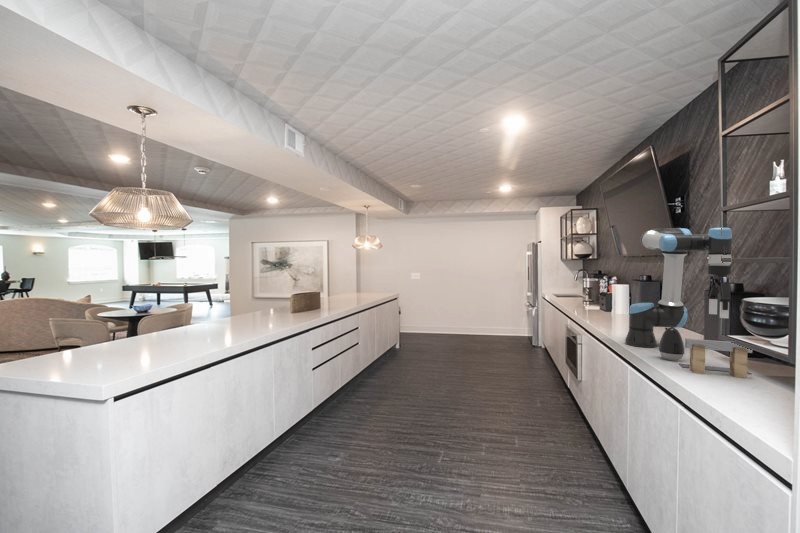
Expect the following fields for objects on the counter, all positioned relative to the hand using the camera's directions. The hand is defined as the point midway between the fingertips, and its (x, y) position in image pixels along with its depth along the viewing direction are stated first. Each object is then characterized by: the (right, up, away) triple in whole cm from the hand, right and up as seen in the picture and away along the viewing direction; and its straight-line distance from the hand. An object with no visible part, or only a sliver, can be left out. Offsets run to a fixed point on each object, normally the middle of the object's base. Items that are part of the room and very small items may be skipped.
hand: (718, 316), depth 168 cm
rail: (0, -14, 0) cm, 14 cm away
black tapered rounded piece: (-3, -24, +24) cm, 34 cm away
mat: (+4, -24, +7) cm, 25 cm away
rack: (0, -24, 0) cm, 24 cm away
